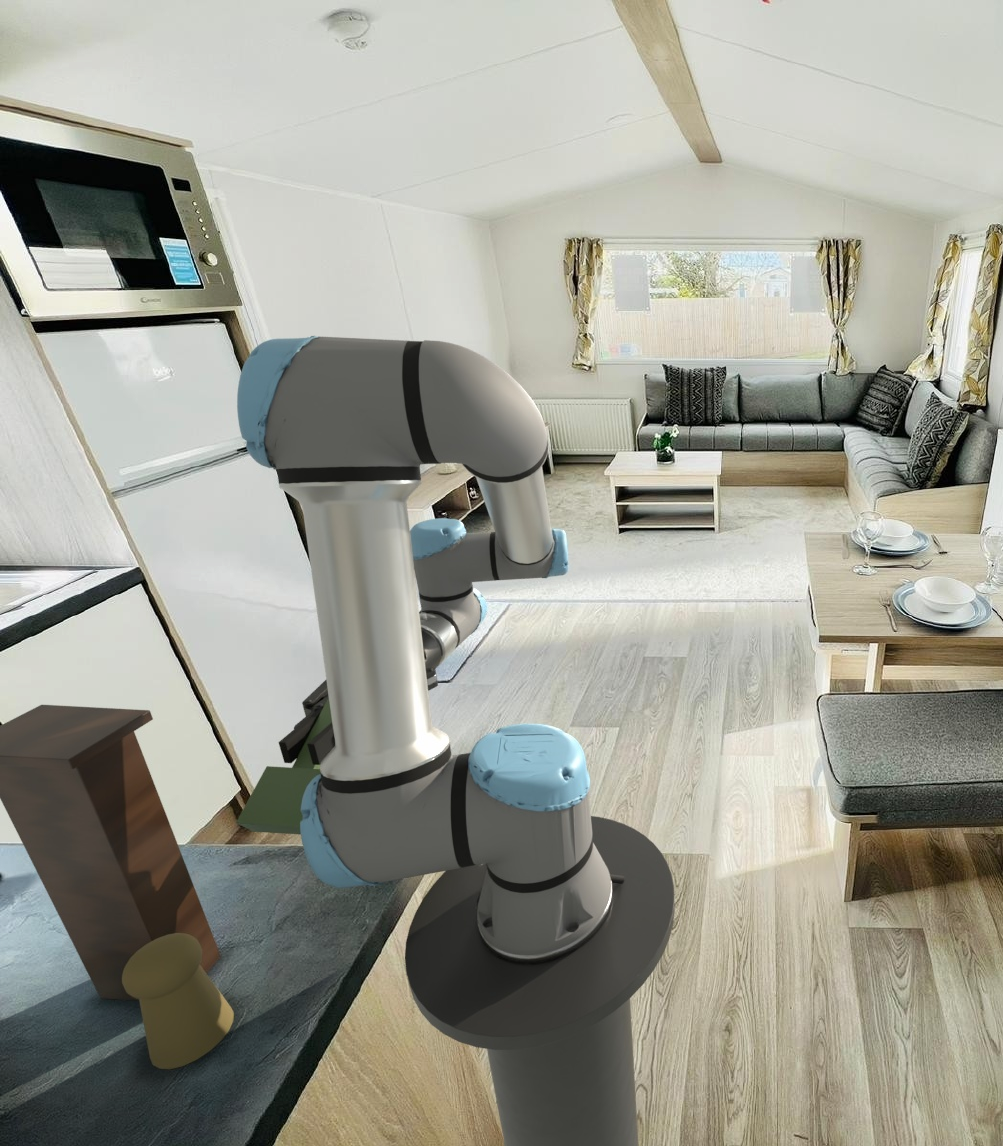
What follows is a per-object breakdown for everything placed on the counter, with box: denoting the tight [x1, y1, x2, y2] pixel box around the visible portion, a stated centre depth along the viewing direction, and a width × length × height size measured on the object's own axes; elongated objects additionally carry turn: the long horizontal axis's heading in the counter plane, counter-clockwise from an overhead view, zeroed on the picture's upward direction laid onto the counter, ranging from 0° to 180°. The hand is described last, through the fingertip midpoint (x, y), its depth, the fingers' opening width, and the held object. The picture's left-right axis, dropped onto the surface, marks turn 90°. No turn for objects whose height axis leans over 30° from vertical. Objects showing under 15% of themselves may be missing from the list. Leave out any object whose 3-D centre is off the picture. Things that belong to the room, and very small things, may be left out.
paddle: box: [235, 698, 332, 835], centre depth 71 cm, size 7×15×3 cm, turn 178°
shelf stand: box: [0, 704, 222, 1002], centre depth 60 cm, size 10×7×30 cm
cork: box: [122, 933, 235, 1070], centre depth 58 cm, size 6×6×11 cm
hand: (299, 753), depth 69 cm, fingers closed on paddle, 2 cm apart
